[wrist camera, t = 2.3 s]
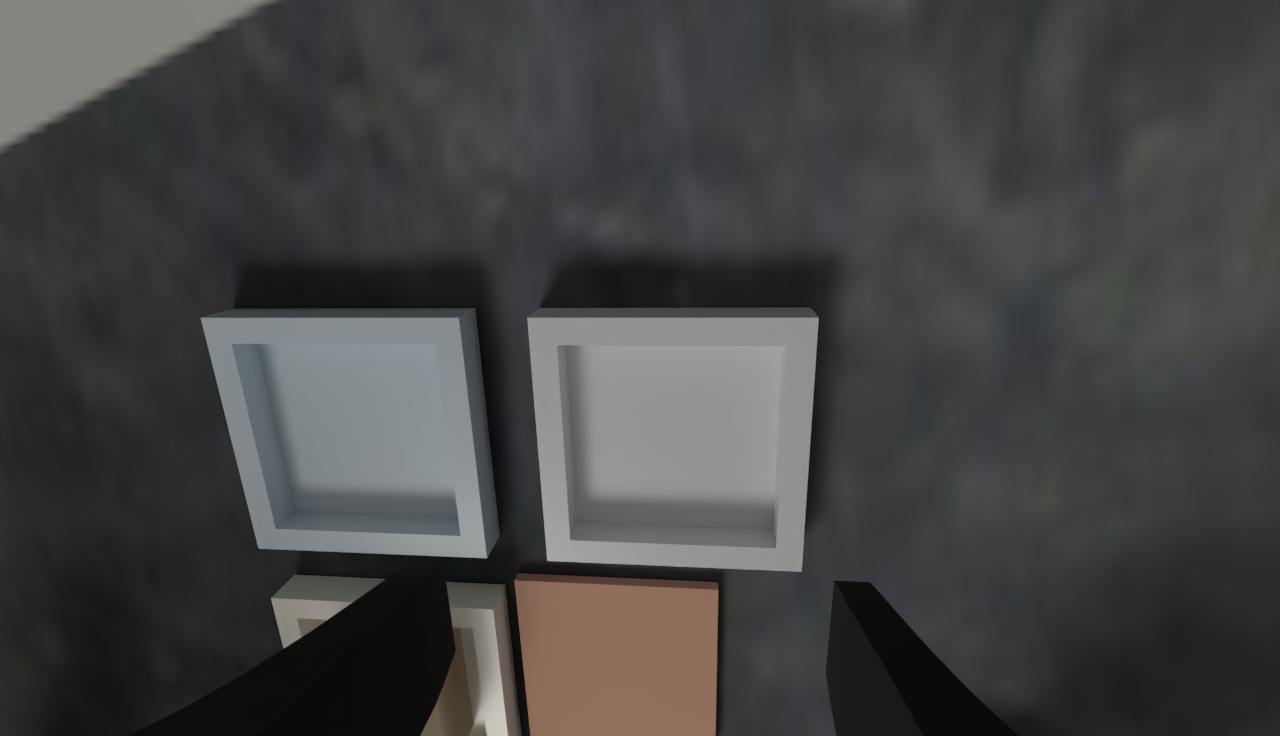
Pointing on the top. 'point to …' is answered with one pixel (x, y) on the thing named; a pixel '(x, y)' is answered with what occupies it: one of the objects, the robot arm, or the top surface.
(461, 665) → the letter cube
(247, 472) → the blue-grey tray
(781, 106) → the top surface
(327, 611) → the cream tray
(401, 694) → the robot arm
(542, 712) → the terracotta mat
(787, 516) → the grey tray
